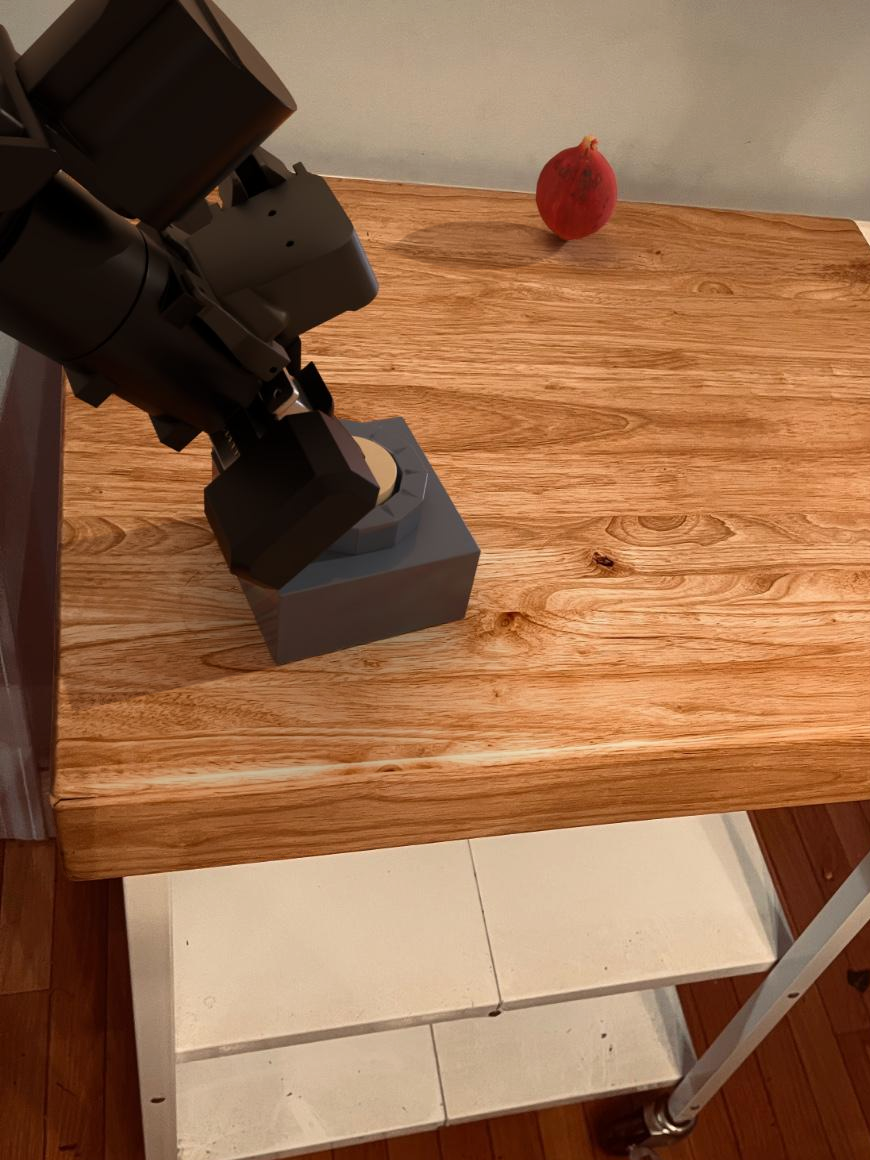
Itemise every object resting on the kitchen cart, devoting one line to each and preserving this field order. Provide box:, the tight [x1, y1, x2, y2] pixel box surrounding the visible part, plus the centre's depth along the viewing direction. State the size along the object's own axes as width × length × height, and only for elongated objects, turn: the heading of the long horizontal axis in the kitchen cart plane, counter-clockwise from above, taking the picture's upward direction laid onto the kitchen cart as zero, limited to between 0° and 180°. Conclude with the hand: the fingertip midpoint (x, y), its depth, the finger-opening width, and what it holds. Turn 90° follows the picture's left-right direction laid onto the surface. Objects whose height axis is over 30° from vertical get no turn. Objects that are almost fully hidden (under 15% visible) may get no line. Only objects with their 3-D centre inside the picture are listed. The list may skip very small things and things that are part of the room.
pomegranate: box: [534, 134, 618, 242], centre depth 84 cm, size 6×6×8 cm
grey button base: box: [211, 416, 482, 666], centre depth 59 cm, size 10×10×7 cm
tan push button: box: [352, 436, 397, 506], centre depth 57 cm, size 4×4×2 cm
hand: (356, 460), depth 56 cm, fingers closed, pressing on tan push button
